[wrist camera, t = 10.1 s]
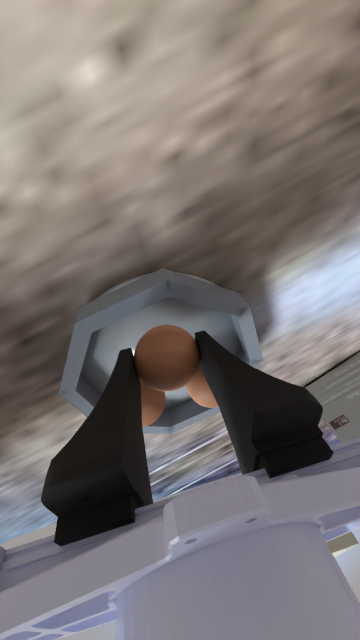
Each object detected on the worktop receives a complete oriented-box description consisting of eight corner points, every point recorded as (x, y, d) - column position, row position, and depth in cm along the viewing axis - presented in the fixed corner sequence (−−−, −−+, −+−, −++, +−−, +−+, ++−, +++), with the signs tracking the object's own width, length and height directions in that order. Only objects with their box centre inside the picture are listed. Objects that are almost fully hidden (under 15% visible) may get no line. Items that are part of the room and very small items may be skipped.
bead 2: (177, 363, 17) (190, 408, 14) (124, 354, 15) (126, 403, 12) (199, 320, 15) (221, 360, 12) (143, 305, 13) (151, 347, 10)
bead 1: (150, 395, 21) (160, 436, 18) (107, 394, 19) (110, 439, 16) (165, 365, 19) (179, 405, 16) (120, 361, 17) (126, 405, 14)
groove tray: (200, 412, 25) (208, 435, 23) (56, 401, 19) (49, 430, 17) (274, 301, 19) (294, 318, 17) (94, 240, 13) (90, 255, 11)
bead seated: (211, 383, 21) (228, 419, 18) (174, 378, 20) (185, 417, 17) (231, 352, 20) (253, 386, 17) (192, 344, 18) (208, 380, 15)
